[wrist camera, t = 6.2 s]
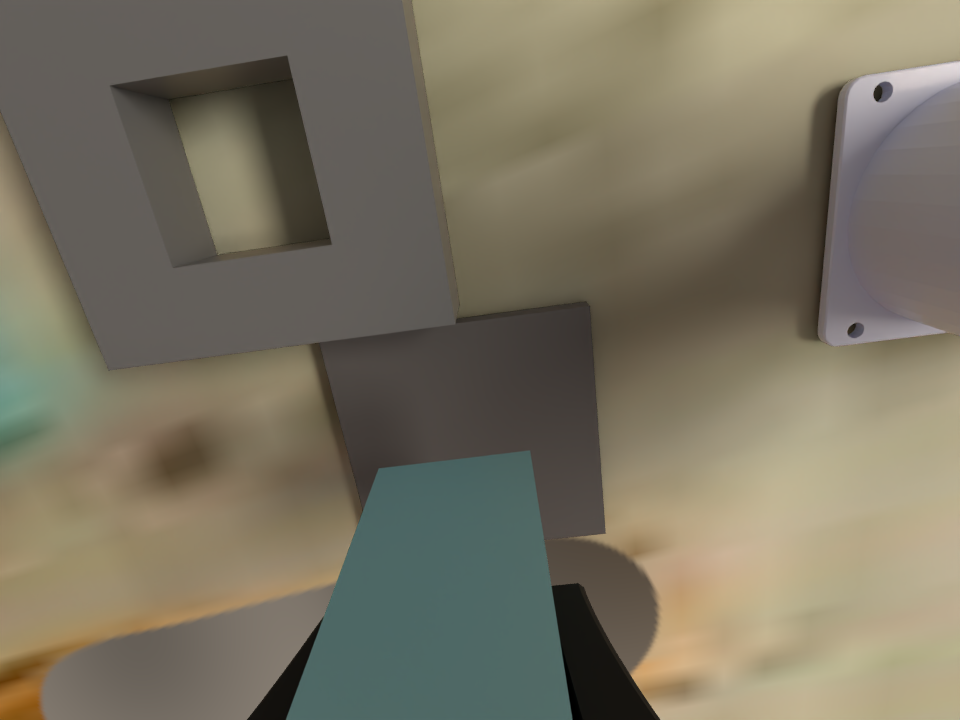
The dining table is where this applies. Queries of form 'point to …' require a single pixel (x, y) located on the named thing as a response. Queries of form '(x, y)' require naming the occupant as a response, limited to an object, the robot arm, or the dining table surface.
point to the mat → (480, 403)
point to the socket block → (171, 188)
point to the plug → (442, 603)
